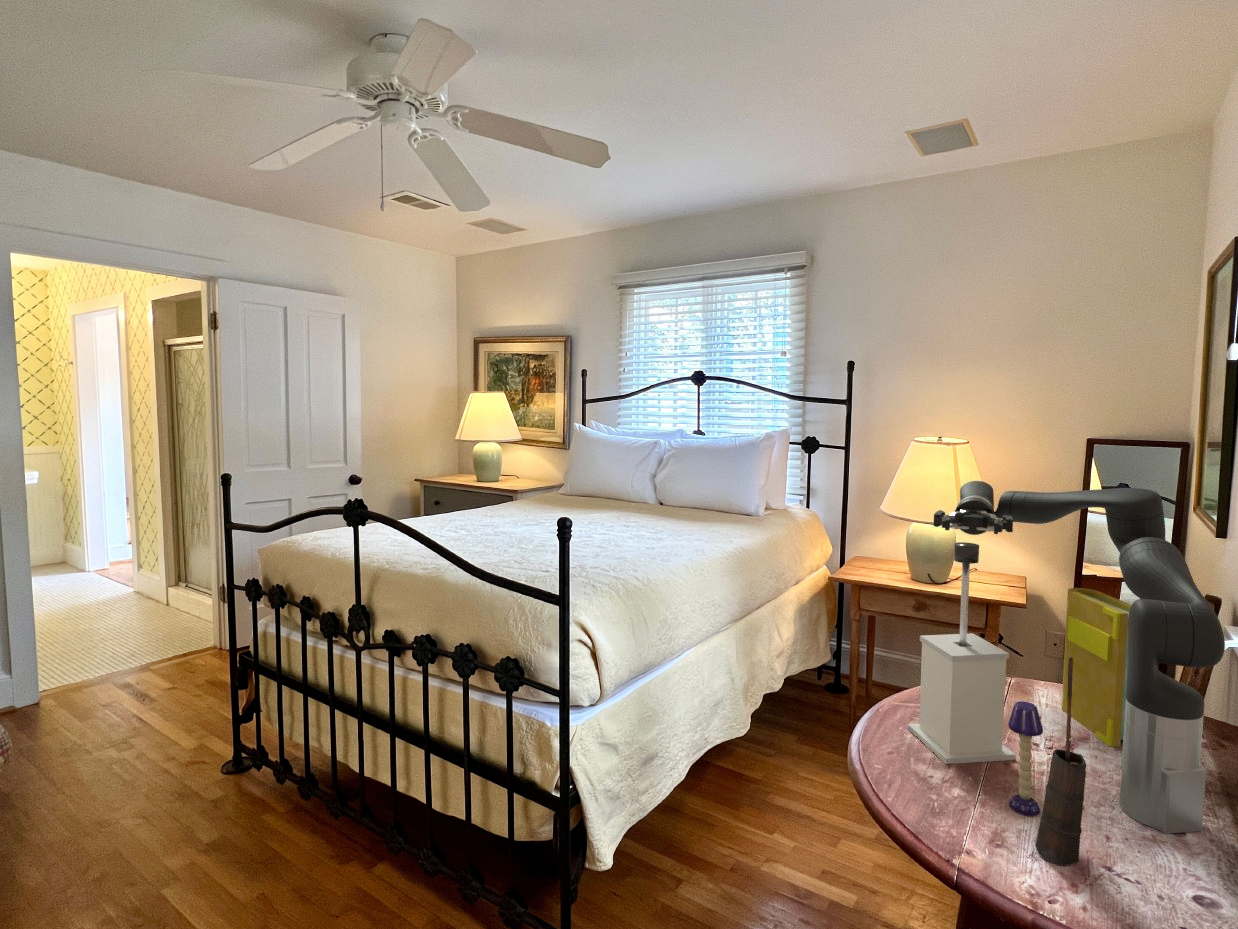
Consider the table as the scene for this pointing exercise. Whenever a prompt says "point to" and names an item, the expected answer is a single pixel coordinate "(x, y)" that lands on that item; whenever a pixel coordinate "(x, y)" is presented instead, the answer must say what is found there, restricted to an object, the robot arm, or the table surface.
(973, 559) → the plunger
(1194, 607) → the robot arm
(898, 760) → the table surface
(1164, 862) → the table surface
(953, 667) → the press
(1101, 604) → the book
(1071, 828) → the butter churn
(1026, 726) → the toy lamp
